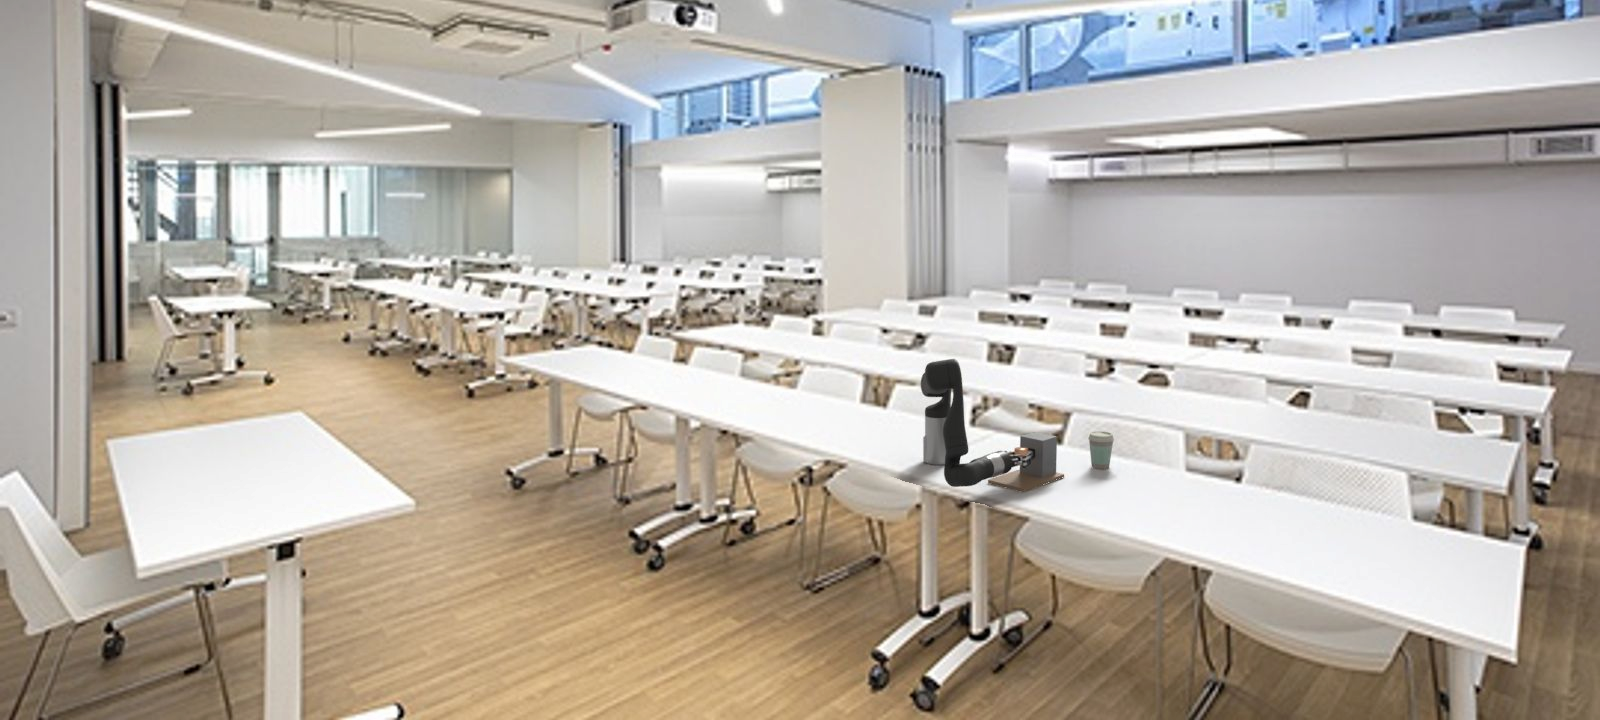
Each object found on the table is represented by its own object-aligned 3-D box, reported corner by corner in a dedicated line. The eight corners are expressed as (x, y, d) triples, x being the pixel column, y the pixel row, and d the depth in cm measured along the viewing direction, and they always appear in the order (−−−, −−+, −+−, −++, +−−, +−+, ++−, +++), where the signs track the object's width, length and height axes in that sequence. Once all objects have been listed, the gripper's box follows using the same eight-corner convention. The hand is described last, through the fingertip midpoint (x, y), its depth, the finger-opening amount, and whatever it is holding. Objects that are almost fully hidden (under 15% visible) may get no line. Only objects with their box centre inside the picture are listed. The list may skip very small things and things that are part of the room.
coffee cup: (1114, 471, 312) (1115, 437, 310) (1088, 470, 313) (1089, 436, 311) (1111, 464, 320) (1112, 431, 318) (1086, 463, 322) (1087, 430, 320)
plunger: (1022, 466, 297) (1022, 451, 297) (1011, 463, 301) (1011, 448, 300) (1047, 457, 306) (1047, 443, 305) (1036, 455, 310) (1036, 441, 309)
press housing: (1023, 492, 291) (1023, 450, 289) (988, 483, 301) (988, 442, 299) (1064, 477, 306) (1065, 437, 303) (1029, 469, 316) (1029, 430, 314)
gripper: (1012, 457, 285) (1044, 447, 296) (976, 449, 296) (1008, 439, 307) (1012, 480, 286) (1044, 469, 297) (976, 471, 297) (1008, 461, 308)
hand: (1026, 454), depth 302 cm, fingers closed on plunger, 4 cm apart
